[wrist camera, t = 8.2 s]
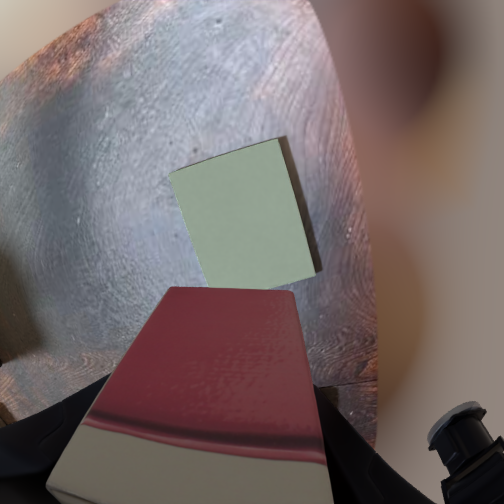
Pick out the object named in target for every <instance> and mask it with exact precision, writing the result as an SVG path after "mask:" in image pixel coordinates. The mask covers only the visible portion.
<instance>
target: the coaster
mask: <svg viewBox="0 0 504 504" xmlns="http://www.w3.org/2000/svg"><path fill="white" fill-rule="evenodd" d="M168 175H169V178H170V181H171V184H172V187H173V190H174V193H175V196H176V199H177V202H178V205H179V208H180V211H181V214H182V217H183V219H184V222H185V225H186V228H187V231H188V234H189V236H190V239H191V242H192V245H193V248H194V250H195V253H196V256H197V258H198V261H199V264H200V267H201V269H202V272H203V275H204V277H205V280H206V282H207V285H208V287H211V288H240V289H263V290H267V289H270V288H274V287H278V286H281V285H285V284H289V283H292V282H296V281H299V280H303V279H306V278H310V277H313V276H316V273H315V269H314V265H313V261H312V257H311V253H310V249H309V246H308V242H307V238H306V234H305V230H304V227H303V223H302V219H301V216H300V212H299V208H298V205H297V201H296V198H295V194H294V191H293V187H292V184H291V180H290V177H289V174H288V170H287V167H286V163H285V160H284V157H283V154H282V150H281V147H280V144H279V141H278V139H273V140H270V141H266V142H263V143H259V144H256V145H253V146H249V147H246V148H243V149H239V150H236V151H233V152H230V153H227V154H224V155H221V156H218V157H215V158H212V159H209V160H206V161H203V162H200V163H197V164H194V165H191V166H188V167H186V168H183V169H180V170H177V171H175V172H172V173H169V174H168Z"/></svg>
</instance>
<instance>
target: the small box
mask: <svg viewBox="0 0 504 504" xmlns="http://www.w3.org/2000/svg"><path fill="white" fill-rule="evenodd" d="M46 488H47V490H48V491H49V492H50V493H51V494H52V495H53V496H54V497H55V498H56V499H57V500H58V501H59V502H60V503H61V504H334V501H333V496H332V489H331V484H330V478H329V473H328V468H327V462H326V455H325V449H324V440H323V435H322V430H321V425H320V420H319V414H318V409H317V403H316V398H315V394H314V388H313V383H312V378H311V373H310V367H309V362H308V358H307V354H306V348H305V342H304V338H303V333H302V328H301V324H300V320H299V316H298V311H297V307H296V302H295V297H294V294H293V292H291V291H288V290H263V289H240V288H211V287H170V288H169V289H168V290H167V291H166V292H165V294H164V295H163V297H162V298H161V300H160V301H159V302H158V304H157V305H156V307H155V308H154V310H153V312H152V313H151V314H150V316H149V317H148V319H147V320H146V321H145V323H144V324H143V326H142V327H141V329H140V330H139V332H138V334H137V335H136V337H135V338H134V339H133V341H132V343H131V344H130V346H129V347H128V349H127V350H126V352H125V353H124V355H123V356H122V358H121V359H120V361H119V362H118V364H117V365H116V367H115V368H114V370H113V372H112V373H111V375H110V376H109V378H108V379H107V381H106V382H105V384H104V386H103V387H102V389H101V391H100V392H99V394H98V395H97V397H96V398H95V400H94V402H93V403H92V405H91V407H90V408H89V410H88V411H87V413H86V415H85V416H84V418H83V419H82V421H81V423H80V424H79V426H78V428H77V429H76V431H75V433H74V435H73V436H72V438H71V440H70V442H69V443H68V445H67V446H66V448H65V450H64V451H63V453H62V455H61V457H60V459H59V460H58V462H57V464H56V465H55V467H54V469H53V470H52V472H51V474H50V476H49V478H48V480H47V482H46Z"/></svg>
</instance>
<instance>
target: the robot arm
mask: <svg viewBox="0 0 504 504" xmlns="http://www.w3.org/2000/svg"><path fill="white" fill-rule="evenodd" d="M110 375H111V373H110V374H108V375H106V376H105V377H103V378H101V379H99V380H98V381H96V382H94V383H92V384H91V385H89V386H87V387H85V388H84V389H82V390H80V391H78V392H76V393H75V394H73V395H71V396H69V397H67V398H66V399H64V400H62V402H58V403H56V404H55V405H53V406H51V407H49V408H47V409H45V410H43V411H41V412H39V413H37V414H34V415H32V416H30V417H27V418H25V419H22V420H20V421H17V422H15V423H12V424H9V425H7V426H4V427H1V428H0V504H61V503H60V502H59V501H58V500H57V499H56V498H55V497H54V496H53V495H52V494H51V493H50V492H49V491H48V490H47V488H46V482H47V480H48V478H49V476H50V474H51V472H52V470H53V469H54V467H55V465H56V464H57V462H58V460H59V459H60V457H61V455H62V453H63V451H64V450H65V448H66V446H67V445H68V443H69V442H70V440H71V438H72V436H73V435H74V433H75V431H76V429H77V428H78V426H79V424H80V423H81V421H82V419H83V418H84V416H85V415H86V413H87V411H88V410H89V408H90V407H91V405H92V403H93V402H94V400H95V398H96V397H97V395H98V394H99V392H100V391H101V389H102V387H103V386H104V384H105V382H106V381H107V379H108V378H109V376H110ZM313 388H314V394H315V398H316V403H317V409H318V414H319V420H320V425H321V430H322V435H323V440H324V449H325V455H326V462H327V468H328V473H329V478H330V484H331V489H332V496H333V501H334V504H436V503H434V502H433V501H431V500H430V499H429V498H427V497H426V496H425V495H424V494H422V493H421V492H420V491H419V490H417V489H416V488H415V487H413V486H412V485H411V484H410V483H408V482H407V481H406V480H405V479H404V478H402V477H401V476H400V475H399V474H398V473H397V472H396V471H394V470H393V469H392V468H391V467H390V466H389V465H388V464H387V463H386V462H385V461H384V460H383V459H382V458H381V457H380V455H379V454H378V453H376V451H375V450H374V449H373V448H372V447H371V446H370V445H369V444H368V443H367V442H366V441H365V440H364V438H363V437H362V436H361V435H360V434H359V433H358V432H357V431H356V430H355V429H354V428H353V427H352V425H351V424H350V423H349V422H348V421H347V420H346V419H345V418H344V417H343V416H342V414H341V413H340V412H339V411H338V410H337V409H336V408H335V407H334V406H333V404H332V403H331V402H330V401H329V400H328V399H327V398H326V397H325V395H324V394H323V393H322V392H321V391H320V390H319V389H318V388H317V386H316V385H314V384H313ZM486 412H487V411H486V409H481V410H476V411H470V412H463V413H457V414H454V415H452V416H451V417H450V419H449V420H448V422H447V423H446V424H445V426H444V427H443V428H442V430H441V431H440V433H439V434H438V435H437V437H436V438H435V439H434V440H433V442H432V443H431V444H430V446H429V447H428V450H429V451H434V450H437V452H438V454H439V456H440V458H441V460H442V463H443V464H444V466H446V467H447V469H448V471H449V474H450V476H449V477H448V478H446V479H444V480H442V481H441V485H442V486H441V488H442V493H443V497H444V501H445V504H504V453H502V452H503V451H504V439H503V438H502V437H501V436H499V437H498V438H497V440H495V441H494V440H493V439H492V437H491V436H490V434H489V432H488V431H487V429H486V428H485V426H484V425H483V423H482V421H481V420H482V418H483V417H484V415H485V414H486Z"/></svg>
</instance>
